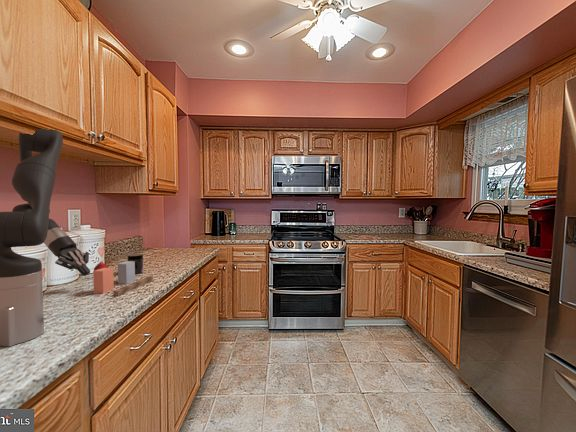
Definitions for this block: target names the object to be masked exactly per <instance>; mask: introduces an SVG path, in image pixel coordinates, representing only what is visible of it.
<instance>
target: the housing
mask: <svg viewBox="0 0 576 432" xmlns="http://www.w3.org/2000/svg"><path fill="white" fill-rule="evenodd" d="M153 278H154V277H153V276H146V277H144V278H141V279H139V280H135V281H133V282H131V283H128V284H126V285H125V286H121V287H120V288H117V289H116V290H112V291H113V292H112V293H113V294H112V296H113V297H119V296H122V295H124V294H126V293H129V292H132V291H133V290H136V289H137V288H140V287H142V286H144V285H146V284H149V283H150V282H151V283H152V281H153V282H154V279H153Z"/></svg>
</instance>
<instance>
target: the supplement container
mask: <svg viewBox="0 0 576 432" xmlns="http://www.w3.org/2000/svg"><path fill="white" fill-rule="evenodd" d="M126 259H127V260H126V261H133V262H135V276H137V275H141V274H143V273H144V253H130V254H127V255H126Z"/></svg>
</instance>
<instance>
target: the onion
mask: <svg viewBox="0 0 576 432" xmlns="http://www.w3.org/2000/svg"><path fill="white" fill-rule="evenodd" d="M102 268H109V266H108V264H106V263H104V260H102V261H99V263H98V264H96V265H95V267H94V268H93V271H95V270H98V269H102Z"/></svg>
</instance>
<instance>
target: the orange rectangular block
mask: <svg viewBox="0 0 576 432" xmlns="http://www.w3.org/2000/svg"><path fill="white" fill-rule="evenodd" d="M92 273H93V274H92V275H93V276H92V277H93V281H92V283H93V294H106V293H109V292H110V291H111V292H112V291H115V290H114V286H115V285H114V268H113V267H108V268H102V269H98V270H95V271H94V270H93V271H92Z"/></svg>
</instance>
